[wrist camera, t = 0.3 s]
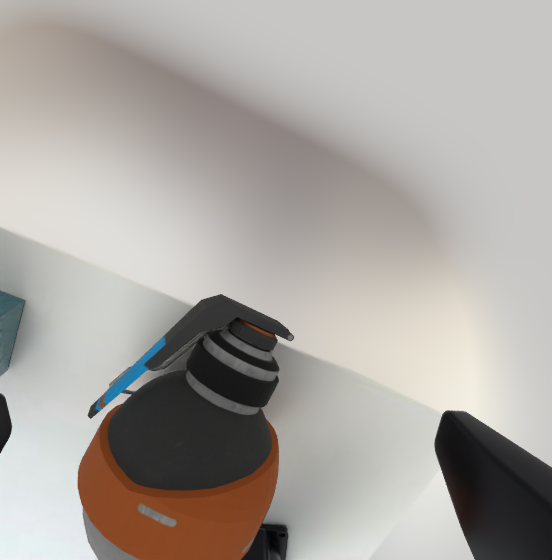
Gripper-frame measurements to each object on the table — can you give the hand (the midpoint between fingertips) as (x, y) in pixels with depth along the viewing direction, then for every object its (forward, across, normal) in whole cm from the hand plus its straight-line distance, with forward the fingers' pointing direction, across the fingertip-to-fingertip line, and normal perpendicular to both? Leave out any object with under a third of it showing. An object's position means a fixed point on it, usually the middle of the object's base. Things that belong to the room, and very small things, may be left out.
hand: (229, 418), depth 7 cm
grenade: (+8, +6, +16) cm, 19 cm away
